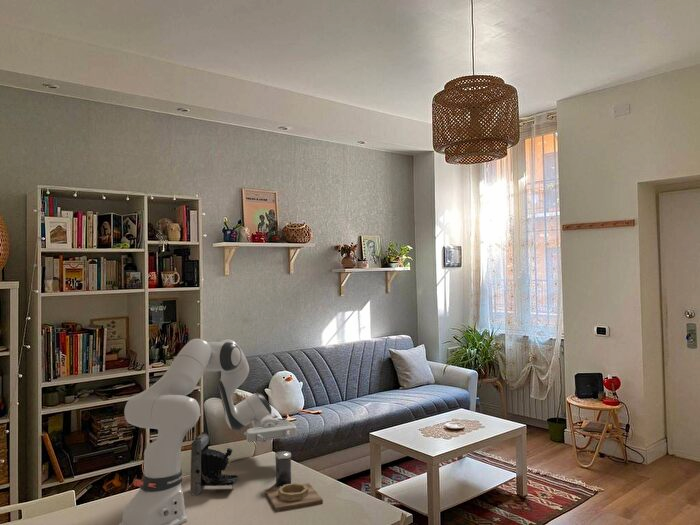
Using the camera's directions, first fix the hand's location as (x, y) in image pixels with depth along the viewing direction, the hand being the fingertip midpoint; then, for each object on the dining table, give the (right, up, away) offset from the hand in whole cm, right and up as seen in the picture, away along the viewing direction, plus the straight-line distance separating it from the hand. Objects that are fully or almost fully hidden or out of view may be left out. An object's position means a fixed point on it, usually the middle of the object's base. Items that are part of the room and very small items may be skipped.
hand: (275, 438), depth 209 cm
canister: (+5, -13, -12) cm, 18 cm away
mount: (+10, -12, -25) cm, 30 cm away
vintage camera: (-19, -14, -17) cm, 29 cm away
